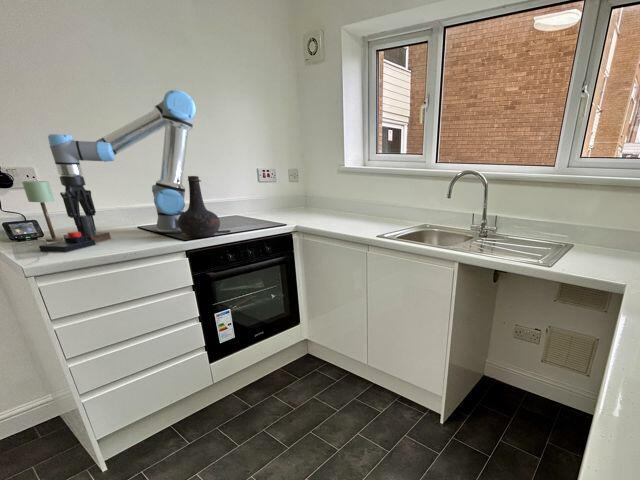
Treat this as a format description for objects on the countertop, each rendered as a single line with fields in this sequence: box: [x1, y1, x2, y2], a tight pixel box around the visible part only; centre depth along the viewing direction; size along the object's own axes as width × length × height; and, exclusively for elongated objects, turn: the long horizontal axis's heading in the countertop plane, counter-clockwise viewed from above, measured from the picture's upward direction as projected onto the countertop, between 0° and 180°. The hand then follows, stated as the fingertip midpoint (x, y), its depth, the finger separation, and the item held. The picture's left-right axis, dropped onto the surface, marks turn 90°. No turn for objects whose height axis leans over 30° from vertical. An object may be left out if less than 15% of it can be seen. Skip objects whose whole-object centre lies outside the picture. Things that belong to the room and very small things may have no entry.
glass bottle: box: [178, 175, 221, 239], centre depth 167 cm, size 18×18×28 cm
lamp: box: [21, 180, 64, 243], centre depth 133 cm, size 7×7×22 cm
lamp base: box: [38, 235, 97, 253], centre depth 142 cm, size 10×14×4 cm
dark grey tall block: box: [80, 214, 96, 236], centre depth 152 cm, size 5×5×8 cm
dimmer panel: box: [63, 231, 112, 244], centre depth 155 cm, size 13×11×3 cm
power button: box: [67, 230, 81, 237], centre depth 145 cm, size 4×4×2 cm
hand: (87, 231), depth 153 cm, fingers closed on dark grey tall block, 5 cm apart
